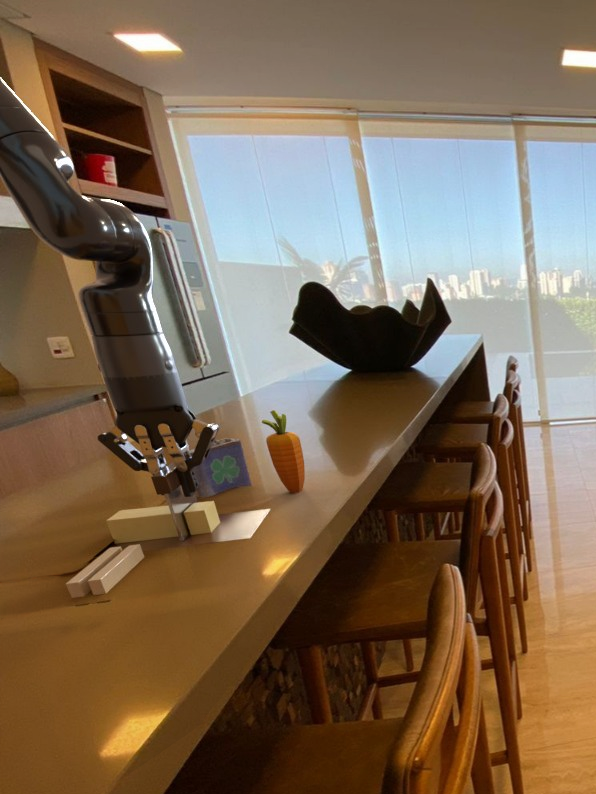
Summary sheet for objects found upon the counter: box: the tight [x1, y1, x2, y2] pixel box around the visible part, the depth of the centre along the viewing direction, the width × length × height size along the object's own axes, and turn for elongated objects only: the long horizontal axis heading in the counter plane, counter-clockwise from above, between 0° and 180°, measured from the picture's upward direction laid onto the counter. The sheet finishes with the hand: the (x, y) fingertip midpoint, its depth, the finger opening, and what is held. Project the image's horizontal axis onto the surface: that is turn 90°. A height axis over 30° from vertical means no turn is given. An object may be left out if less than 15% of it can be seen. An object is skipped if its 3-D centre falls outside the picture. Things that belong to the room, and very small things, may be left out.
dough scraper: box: [150, 460, 199, 540], centre depth 80 cm, size 9×2×10 cm, turn 19°
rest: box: [65, 544, 145, 607], centre depth 69 cm, size 10×3×3 cm, turn 19°
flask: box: [189, 438, 253, 498], centre depth 97 cm, size 9×3×11 cm, turn 164°
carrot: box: [261, 409, 306, 494], centre depth 95 cm, size 5×5×15 cm
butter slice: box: [184, 500, 220, 535], centre depth 81 cm, size 2×4×4 cm, turn 19°
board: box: [92, 508, 271, 559], centre depth 81 cm, size 18×12×1 cm, turn 109°
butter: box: [105, 505, 179, 544], centre depth 79 cm, size 8×4×4 cm, turn 109°
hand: (181, 495), depth 79 cm, fingers closed on dough scraper, 1 cm apart
